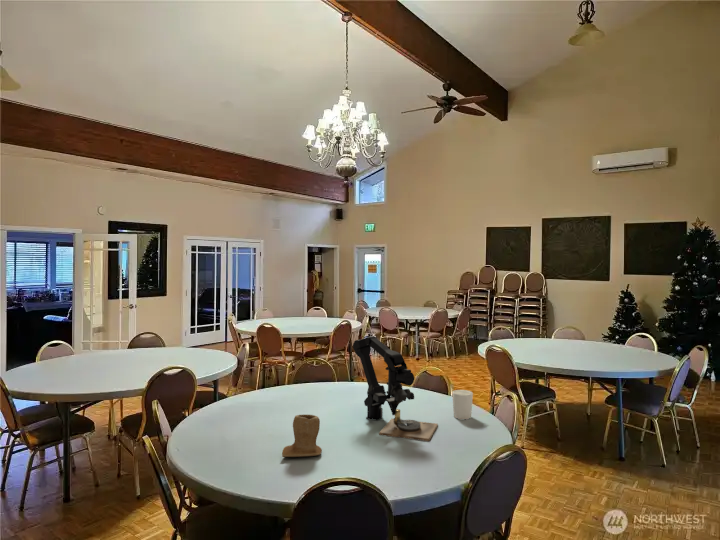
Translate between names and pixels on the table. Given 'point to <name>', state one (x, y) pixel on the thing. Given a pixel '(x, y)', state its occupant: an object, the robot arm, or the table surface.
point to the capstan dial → (406, 423)
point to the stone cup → (304, 437)
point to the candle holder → (462, 404)
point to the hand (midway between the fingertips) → (393, 415)
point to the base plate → (422, 434)
